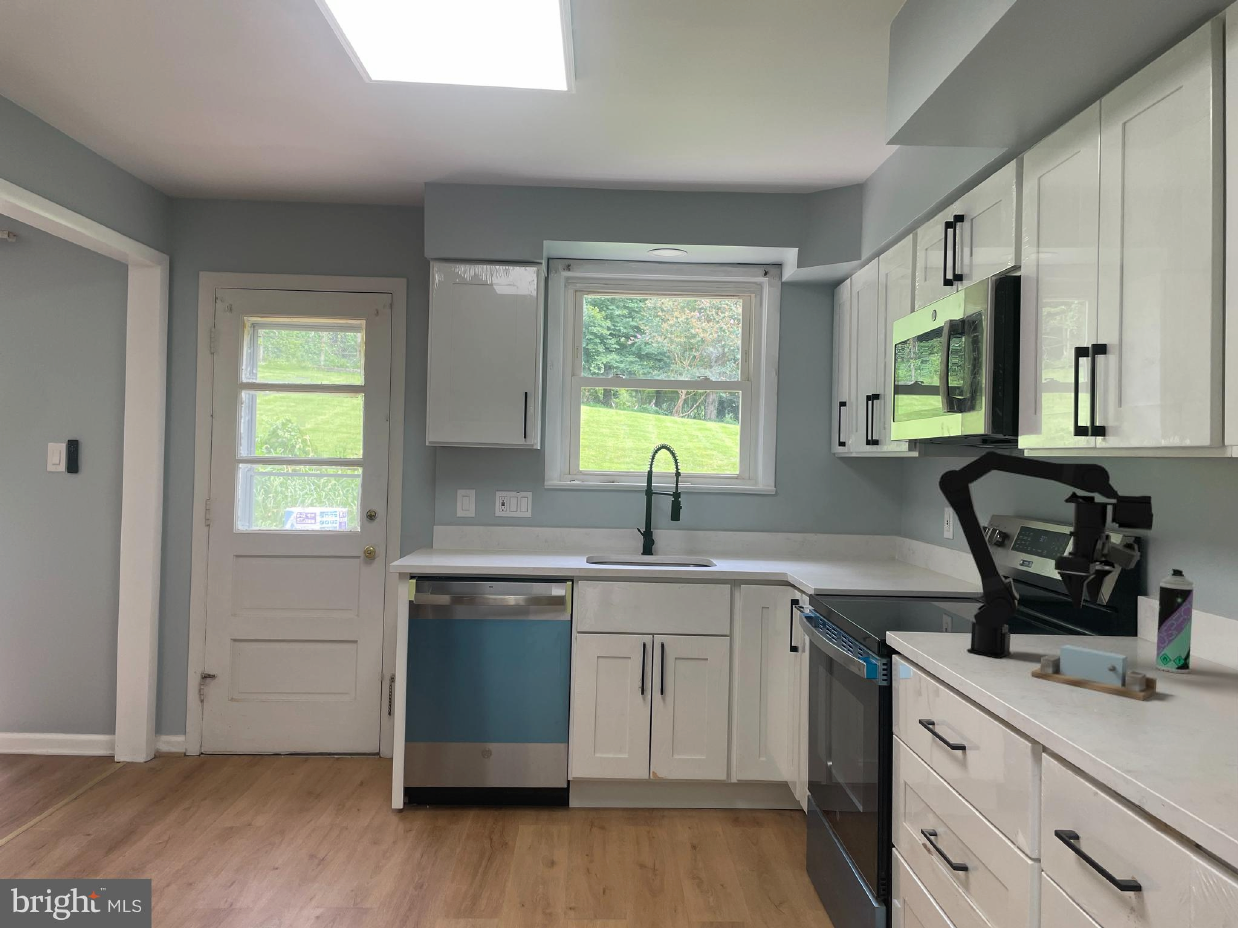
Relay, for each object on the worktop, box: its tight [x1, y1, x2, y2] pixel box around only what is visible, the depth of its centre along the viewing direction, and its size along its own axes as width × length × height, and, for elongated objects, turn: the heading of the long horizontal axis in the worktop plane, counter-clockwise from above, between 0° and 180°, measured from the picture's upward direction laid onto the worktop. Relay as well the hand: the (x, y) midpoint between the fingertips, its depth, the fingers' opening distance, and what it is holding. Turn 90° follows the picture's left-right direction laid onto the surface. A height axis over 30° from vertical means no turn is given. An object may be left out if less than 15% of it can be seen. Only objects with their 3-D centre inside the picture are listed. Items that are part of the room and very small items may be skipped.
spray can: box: [1155, 568, 1194, 674], centre depth 162 cm, size 6×6×20 cm
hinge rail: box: [1030, 654, 1157, 701], centre depth 148 cm, size 18×8×4 cm, turn 43°
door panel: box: [1059, 644, 1128, 687], centre depth 148 cm, size 10×4×5 cm, turn 44°
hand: (1086, 605), depth 162 cm, fingers open, 9 cm apart
